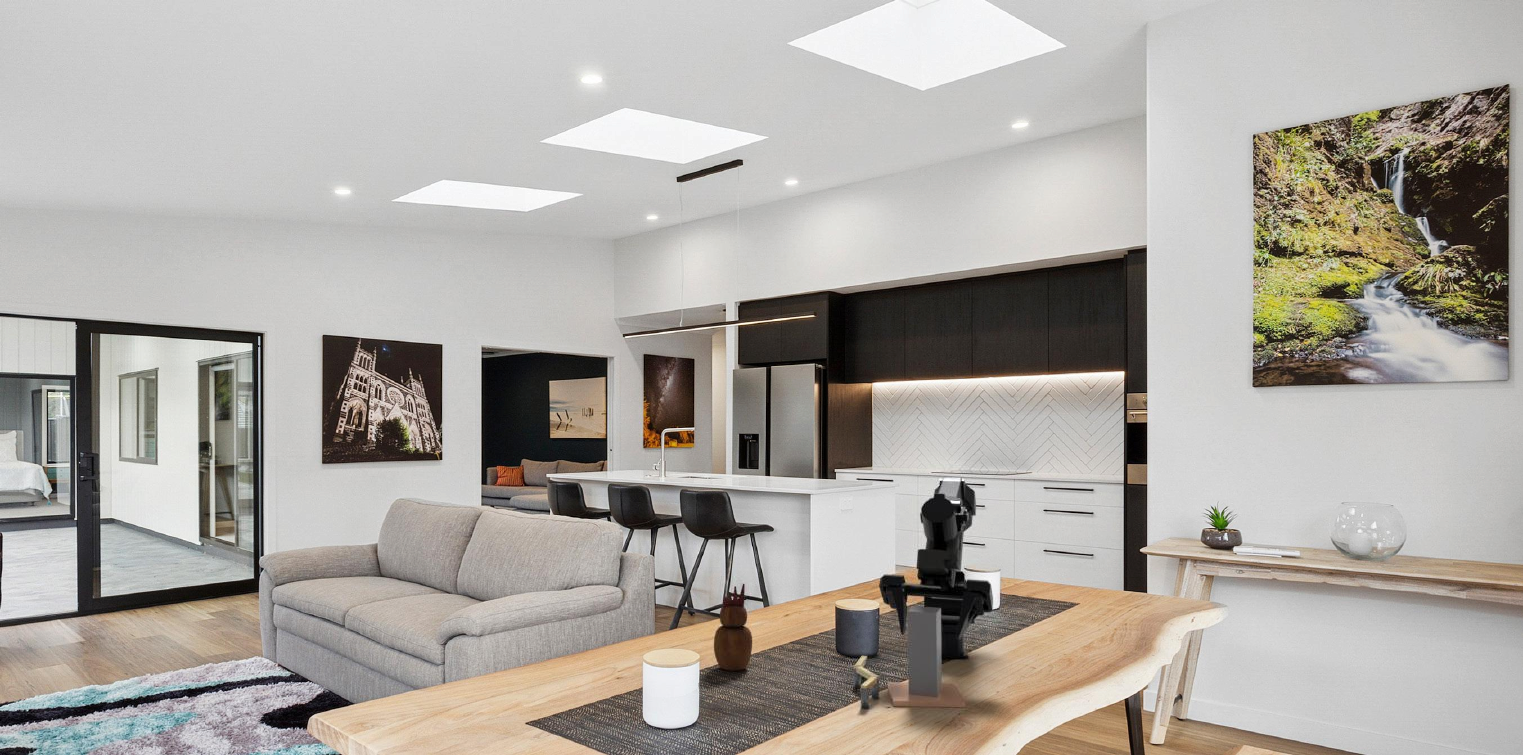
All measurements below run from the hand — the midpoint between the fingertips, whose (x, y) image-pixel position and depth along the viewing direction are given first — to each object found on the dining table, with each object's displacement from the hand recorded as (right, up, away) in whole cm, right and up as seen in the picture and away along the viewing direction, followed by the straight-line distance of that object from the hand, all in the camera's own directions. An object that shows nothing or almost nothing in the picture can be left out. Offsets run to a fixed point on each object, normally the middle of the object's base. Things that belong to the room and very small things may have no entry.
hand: (929, 635), depth 148 cm
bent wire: (-11, -9, -2) cm, 14 cm away
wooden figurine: (-33, -9, +12) cm, 36 cm away
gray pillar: (-2, -8, -5) cm, 9 cm away
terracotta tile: (-2, -8, -5) cm, 10 cm away
